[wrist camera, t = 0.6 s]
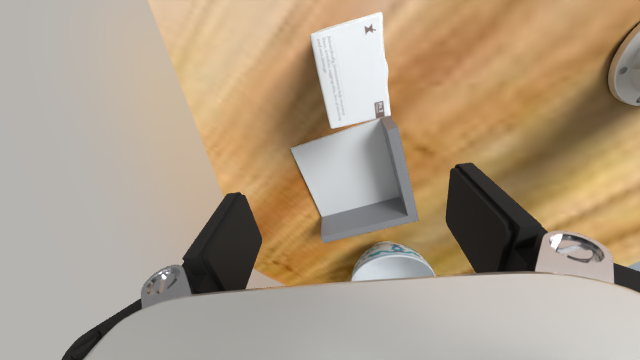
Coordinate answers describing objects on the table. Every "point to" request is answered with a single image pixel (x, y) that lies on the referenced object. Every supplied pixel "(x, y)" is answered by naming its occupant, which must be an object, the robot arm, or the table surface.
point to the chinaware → (390, 263)
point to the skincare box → (353, 70)
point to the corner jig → (358, 179)
